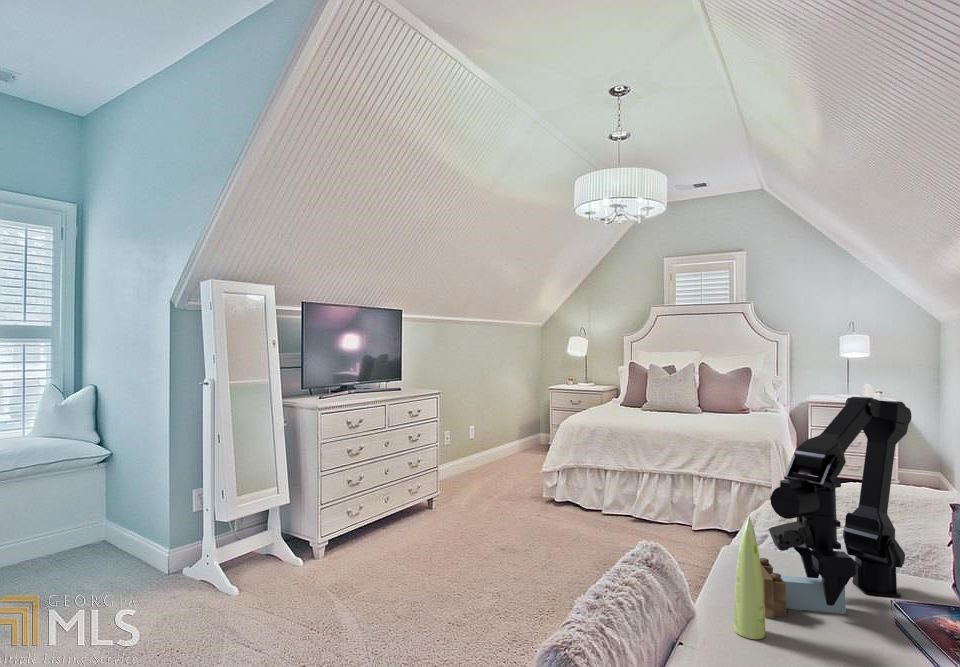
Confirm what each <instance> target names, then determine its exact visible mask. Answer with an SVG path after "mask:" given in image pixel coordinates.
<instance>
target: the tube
mask: <svg viewBox="0 0 960 667" xmlns="http://www.w3.org/2000/svg"><path fill="white" fill-rule="evenodd" d="M757 541H758V540H757V536H756V533H755V528H754V524H753V522H752V518H751V515H750V513H748V519H747V521H746V523H745V526H744V529H743V532H742V536H741V539H740V544H739V549H738V555H737V561H736V569H735V580H734V581H735V582H734V583H735V584H734V604H733V605H734V606H733V609H734V610H733V611H734V612H733V630H734V632H735V633H736V634H737V635H739V636H740V637H743V638H746V639H751V640H760V639H764V638H765V637H766V618H765V612H764V596H763V583H762V573H761V565H760V558H761V557H760V554H759V547H758V542H757Z"/></svg>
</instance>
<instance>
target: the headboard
mask: <svg viewBox="0 0 960 667" xmlns="http://www.w3.org/2000/svg"><path fill="white" fill-rule="evenodd" d="M759 558H760V565H761V573H762V583H763V596H764V612H765V619H769V620H770V619H771V620H772V619H773V620H774V619H775V617H783V618H786V617H787V608H786V584H785V582H784V581H783V580H782V578H781V573H778V572H774V567H773V566H772V564H771V563H770V562H769V561H770V560H769V559H768V558H766V557H759ZM768 573H770V574H771V576H770V575H769V574H768Z"/></svg>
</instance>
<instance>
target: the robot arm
mask: <svg viewBox="0 0 960 667" xmlns="http://www.w3.org/2000/svg"><path fill="white" fill-rule="evenodd" d="M911 421H912V411H911V409H910V408H909V407H908V406H907V405H906V404H905V403H904V402H903V401H897V400H895V401H894V400H882V399H876V398H873V397H869V396H868V397H867V396H865V397H864V396H851V397H848V398H846V401H845V404H844V407H843V408H842V409H841V410H840V411H839V412H837V415H836V416H835V417H834V418H833V419H832V420H831V422H830V423H829V424H828V426H827V427H825V429H824V430H823V431H822V432H821V433H820V434H819V435H817V436H816V435H815V436H814V437H811V438H807V439H806V440H804V441H803V442H802V443H801V444H799V445H798V446H797V448H796V449H795V451H794V452H793V455H792V457H791V460H790V461H789V464H788V467H787V468H786V471H785V473H784V476H783V479H781V480H780V481H779V487H776V488H775V489H774V490H773V491H772V493H771V495H770V499H769V500H770V505H771V507H772V509H773V511H774V512H775V513H776V515H778V516H780V517H781V518H782V519H787V520H792V519H795V518H796V521H793V522H792V521H791V522H786V523H783V524H779V525H776V526H773V527H770V528H768V531H769V534H770V536H771V539H772V542H773V544H774V546H775V547H776V548H777V549H778V551H781V552H782V551H783V552H784V551H788V550H789V549H792V548H793V549H794V551H796V552H797V553H798V554H799V556H800V560H801V562H802V566H803V568H804V572H805V575H806V576H805V577H808V578H819V577H820V579H822V584H823V589H824V595H825V599H826V604H827V605H831V606H833V605H834V604H835V602H836V601H837V599H838V597H839V595H840V594H841V592H842V590H843V589H844V587H845V588H846V586H847V584H848V582H850V580H851V579H852V580H851V582H852V583H853V584H854V585H855V586H856V587H857V589H859V590H860V591H861V592H862V593H863V594H865V595H870V596H880V597H882V596H883V597H891V598H892V597H893V598H902V594H901V593H900V592H899V591H898V588H897V584H898V583H897V582H898V580H897V568H903V565H904V564H905V560H906V559H905V558H906V553H905V552H904V550H903V548H902V547H901V546H900V543H899V542H898V541H897V539H896V528H895V526H894V525H893V522H892V520H891V519H890V517H889V515H888V510H889V509H888V508H889V501H890V492H891V485H892V476H893V469H894V462H895V461H894V460H895V454H896V446H897V444H898V443H899V442H900V441H901V440H902V438H904V437H905V436H906V435H907V433H908V429H909V425H910V423H911ZM862 431H863V433H864V436H865V437H866V447H865V453H864V454H865V455H864V456H865V457H864V462H863V470H862V477H861V479H862V480H861V486H860V494H859V501H858V507H856V508H855V510H853V512H847V514H846V515H845V522H844V523H845V524H844V527H843V530H842V532H843V533H842V537H843V538H842V539H843V541H844V546H845V551H846V552H844V551H841V550H842V543H841V542H839V541H838V534H837V533H838V532H837V531H838V529H837V528H841V527H842V525H841V521H840V520H839V519H838V518H837V496H836V495H837V494H836V493H837V492H836V491H837V490H836V489H839V488H841V487H842V483H840V481H838V479H837V478H838V476H840V474H841V473H842V471H843V468H844V466H845V465H846V463H847V462H846V457H845V453H846V451H847V449H848V448H849V447H850V445H852V443H853V442H854V440H855V439H856V438H857V437H858V436H859V434H860V433H861V432H862ZM851 556H852V557H854V558H852V557H851Z"/></svg>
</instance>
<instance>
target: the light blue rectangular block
mask: <svg viewBox="0 0 960 667" xmlns="http://www.w3.org/2000/svg"><path fill="white" fill-rule="evenodd" d="M768 574H769V575H770V576H771V574H770V573H768ZM780 575H781V574H780ZM781 578H782V580H783V581H784V582H785V584H786V609H791V610H799V611H800V610H803V611H811V612H823V613H831V614H832V613H833V614H844V615H845V614H846V613H847V612H846V611H847V610H846V586H845V587H844V589H843V590H842V592H841V594H840V595H839V597H838V599H837V601H836V602H835V604H834V605H833V606H831V605H827V604H826V599H825V595H824V589H823V584H822V578H821V577H820V578H819V577H818V578H808V577H807V576H793V575H781Z"/></svg>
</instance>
